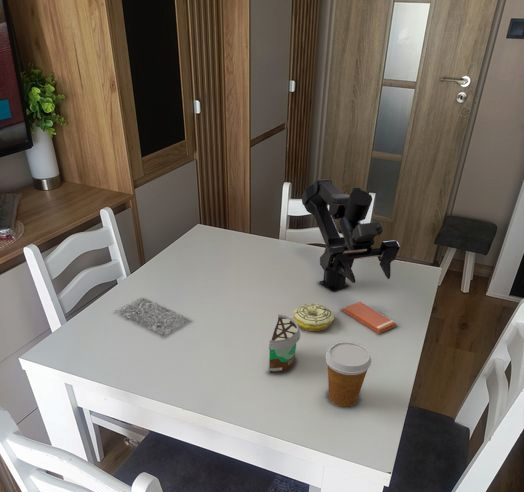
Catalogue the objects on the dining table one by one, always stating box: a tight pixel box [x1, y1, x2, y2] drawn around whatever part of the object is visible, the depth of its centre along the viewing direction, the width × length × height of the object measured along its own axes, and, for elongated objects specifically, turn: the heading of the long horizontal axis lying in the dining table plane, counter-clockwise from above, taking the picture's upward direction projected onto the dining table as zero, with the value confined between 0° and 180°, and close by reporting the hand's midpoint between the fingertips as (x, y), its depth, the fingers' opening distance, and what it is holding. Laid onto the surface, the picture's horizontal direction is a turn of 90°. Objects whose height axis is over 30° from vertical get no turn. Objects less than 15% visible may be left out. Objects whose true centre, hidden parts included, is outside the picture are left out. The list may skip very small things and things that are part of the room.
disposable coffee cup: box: [325, 341, 373, 408], centre depth 103 cm, size 10×10×12 cm
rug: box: [114, 297, 190, 336], centre depth 133 cm, size 10×20×1 cm, turn 52°
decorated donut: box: [293, 303, 335, 332], centre depth 130 cm, size 10×11×4 cm
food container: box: [268, 313, 301, 374], centre depth 114 cm, size 12×6×10 cm, turn 168°
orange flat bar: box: [342, 301, 397, 335], centre depth 133 cm, size 14×6×1 cm, turn 35°
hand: (371, 280), depth 121 cm, fingers open, 9 cm apart
